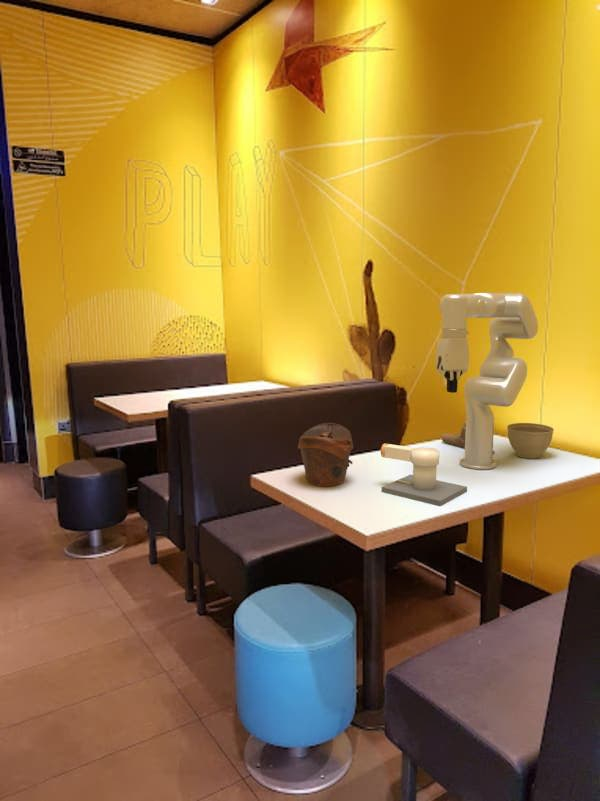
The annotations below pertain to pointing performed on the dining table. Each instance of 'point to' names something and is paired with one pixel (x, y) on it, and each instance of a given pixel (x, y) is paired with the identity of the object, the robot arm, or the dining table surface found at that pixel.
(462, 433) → the pipe
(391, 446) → the cream piece
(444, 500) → the base
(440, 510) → the dining table surface
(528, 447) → the planter bowl
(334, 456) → the brown domed pot
